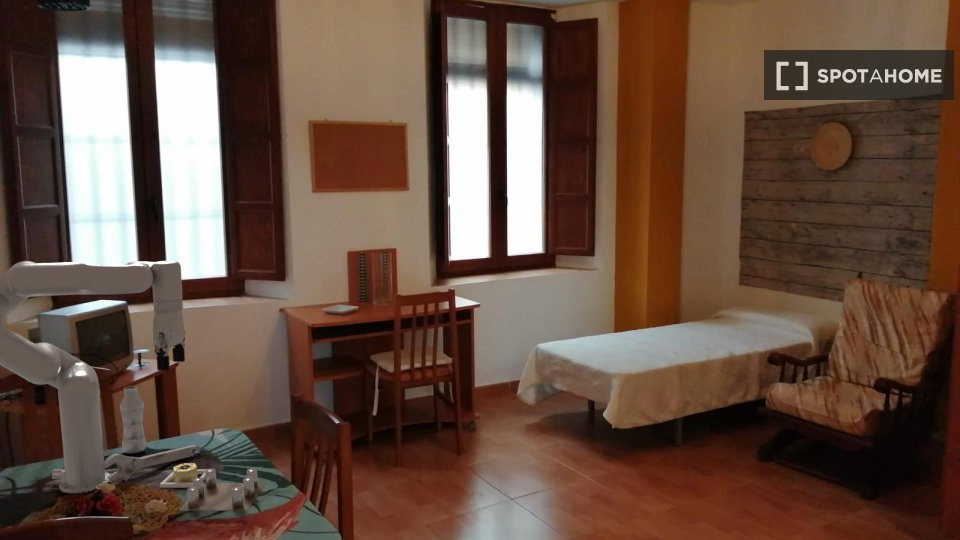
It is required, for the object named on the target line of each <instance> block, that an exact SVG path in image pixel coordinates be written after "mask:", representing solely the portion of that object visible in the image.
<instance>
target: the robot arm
mask: <svg viewBox="0 0 960 540" xmlns="http://www.w3.org/2000/svg"><path fill="white" fill-rule="evenodd" d="M182 279H183V278H182V266H181V263H180V262H179V261H176V260H160V261H159V260H158V261H139V260H138V261H137V260H135V261H130V262H127V263H126V264H124V265H97V264H90V263H86V262H79V261H73V262H72V261H69V262H68V261H67V262H65V261H64V262H39V263H36V262H34V261H28V260H24V261H19V262H17V263H15V264H14V265H12V266H11V267H10V268H9V269H7V271H5V273H3V274H2V275H1V276H0V366H1V367H3V368H4V369H7V370H8V371H10V372H12V373H14V374H15V375H17V376H19V377H21V378H23V379H24V380H26V381H27V382H29V383H32V384H33V385H47V384H48V385H49V386H51V387H54V388H55V389H57V395H58V397H57V398H58V405H59V416H60V427H61V438H62V439H61V440H62V450H63V463H64V465H63V466H64V468H54V469H52V471H51V480H52V479H53V480H59V479H60V480H61V482H60V483H59V484H58V485H59V490H60V492H62V493H65V494H83V492H85V493H89V492H88V491H90V492H93V491H92V490H94V489H95V488H96V486H97V485H98V484H101V483H106V482H110V483H111V482H112V481H113V480H109V479H108V478H107V477H108V476H109V475H110V474H111V473H110V472H108V471H107V472H106V470H105V469H106V468H104V467H103V463H104V461H105V454H104V440H103V439H104V438H103V427H102V425H103V424H102V414H101V393H100V392H101V391H100V382H99V378H98V375H97V373H96V370H95V369H94V367H92V366H91V365H89V364H88V363H86V362H85V361H83V360H80V359H79V358H78V357H76V356H74V355H72V354H70V353H69V352H68V351H65V350H63V349H61V348H59V347H58V346H56V345H54V344H52V343H48V342H36V343H34V342H32V341H31V340H28V339H27V338H25V337H24V336H22V335H21V334H19V333H17V332H14V331H12V330H10V329H9V328H8V327H7V325H6V323H5V322H6V319H7V318H8V316H9V315H10V314H11V313H12V312H14V310H16V309H18V308H19V307H20V306H21V305H22V304H23V303H24V302H25V301H26V300H28V299H29V297H31V298H32V297H47V296H48V297H49V296H67V295H69V296H70V295H82V296H83V295H85V296H86V295H125V294H137V293H138V294H139V293H143V292H145V291H147V290H148V289H150V288H152V298H153V299H152V301H153V312H154V313H153V321H152V346H153V347H154V353H155V357H156V367H157V368H156V369H157V371H159V372H160V371H161V372H162V371H165V372H166V371H169V370H170V367H171V366H170V356H169V355H168V354H169V350H170V349H171V348H172V361H173V362H175V363H184V362H185V360H186V357H185V356H186V354H185V347H186V345H185V340H186V337H185V335H186V330H185V325H184V317H183V310H184V304H183V303H184V302H183V299H184V298H183V284H182V283H183V281H182ZM94 491H95V490H94Z"/></svg>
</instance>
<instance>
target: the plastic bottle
mask: <svg viewBox="0 0 960 540" xmlns="http://www.w3.org/2000/svg"><path fill="white" fill-rule="evenodd" d="M138 394H139V391H138V387H137V386H133V385H132V386H126V387H124V388H123V396H124V397H123V399H122V400H121V401H120V405H119V409H120V414H121V418H122V420H121V421H122V429H123V431H122V432H123V433H122V442H121V448H122V450H123V453H126V454H138V453H142V452H143V451H145V448H146V446H147V440H146V437H145V430H144V426H143V420H144V419H143V418H144V407H145V406H144V403H145V402H144V401H143V400H142V398H141V397H140V396H139V395H138Z"/></svg>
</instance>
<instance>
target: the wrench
mask: <svg viewBox="0 0 960 540" xmlns="http://www.w3.org/2000/svg"><path fill="white" fill-rule="evenodd" d="M194 449H195V451H194V452H193V450H194ZM193 453H197V454H198V453H199V454H201V448H200V446H199V445H196V444H191V445H188V446H183V447H179V448H174V449H170V450H169V449H168V450H167V451H162V452H157V453H152V454H148V455H144V456H141V457H135V456H127V455H123V454H121V453H114V454H110V455H108V457H107V458H106V459H104V463H103V467H104V468H105V469H108V468H109V467H111V466H112V465H113V464H115V465H116V466H117V467H116V471H113V473H112V472H111V473H109V474H110V475H109V476H108V477H107V478H108V479H109V480H112V481H114V482H118V481H123V480H127V481H129V480H130V479H129V478H130V477H131V476H132V475H133V474H135V473H136V472H137V471H139V470H141V469H143V468H148V467H151V466H155V465H161V464H165V463H169V462H173V461H178V460H183V459H187V458H192V457H194V456H193V455H194V454H193ZM199 454H198V455H199ZM191 456H192V457H191ZM128 479H129V480H128Z"/></svg>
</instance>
